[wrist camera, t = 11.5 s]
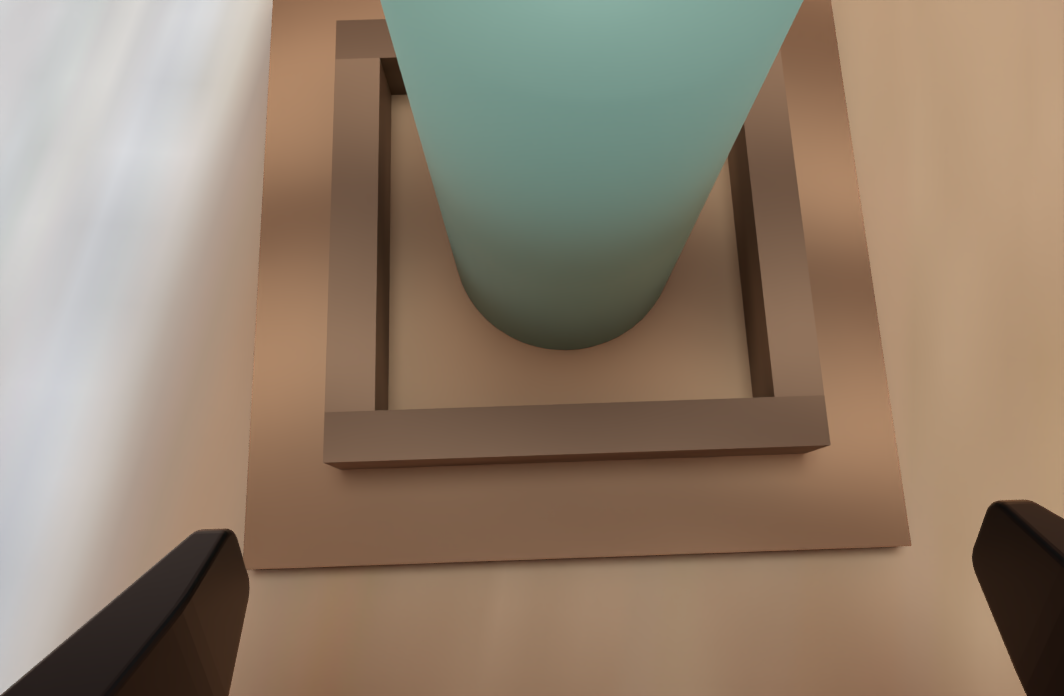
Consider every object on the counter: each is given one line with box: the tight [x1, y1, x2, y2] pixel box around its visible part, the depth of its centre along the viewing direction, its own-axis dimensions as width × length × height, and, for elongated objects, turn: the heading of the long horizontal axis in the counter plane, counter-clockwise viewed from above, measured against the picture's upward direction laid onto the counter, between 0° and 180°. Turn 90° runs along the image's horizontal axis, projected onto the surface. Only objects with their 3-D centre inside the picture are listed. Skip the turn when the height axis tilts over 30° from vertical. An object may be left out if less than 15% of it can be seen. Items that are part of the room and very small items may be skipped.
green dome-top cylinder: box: [380, 0, 803, 350], centre depth 13 cm, size 5×5×10 cm
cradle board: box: [243, 0, 911, 570], centre depth 18 cm, size 14×14×2 cm
